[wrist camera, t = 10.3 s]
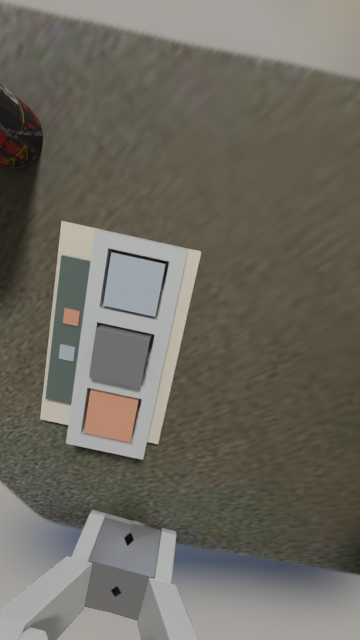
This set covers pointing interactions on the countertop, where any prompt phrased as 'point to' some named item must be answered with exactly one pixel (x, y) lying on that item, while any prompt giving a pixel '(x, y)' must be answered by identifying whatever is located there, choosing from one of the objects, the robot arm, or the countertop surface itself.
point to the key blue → (134, 283)
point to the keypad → (89, 313)
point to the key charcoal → (120, 355)
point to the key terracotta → (111, 415)
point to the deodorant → (18, 132)
